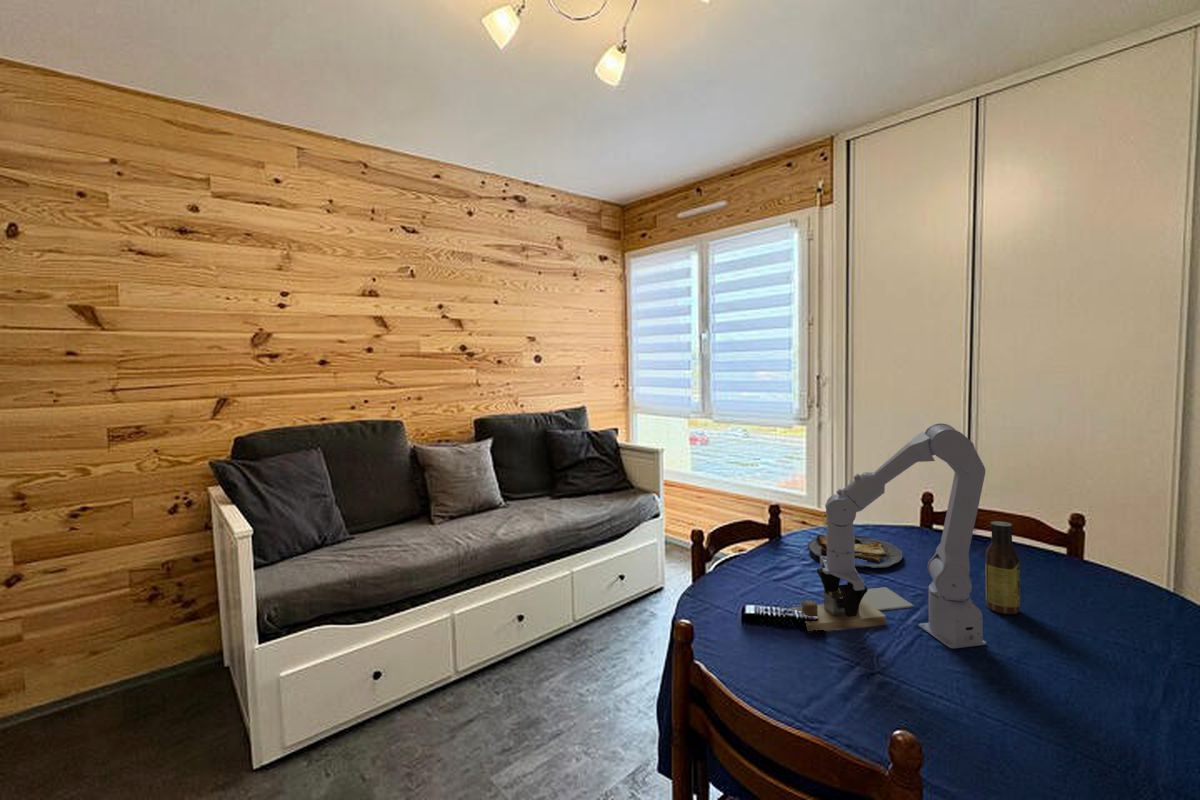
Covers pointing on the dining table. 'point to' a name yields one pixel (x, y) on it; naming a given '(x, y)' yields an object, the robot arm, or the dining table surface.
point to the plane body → (841, 617)
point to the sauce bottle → (1002, 570)
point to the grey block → (834, 603)
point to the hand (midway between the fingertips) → (841, 607)
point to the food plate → (862, 550)
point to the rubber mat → (885, 599)
